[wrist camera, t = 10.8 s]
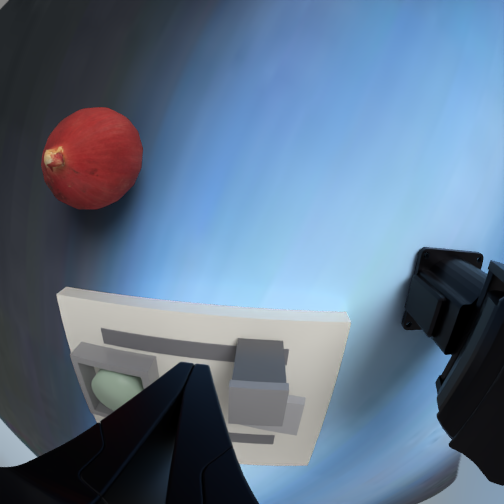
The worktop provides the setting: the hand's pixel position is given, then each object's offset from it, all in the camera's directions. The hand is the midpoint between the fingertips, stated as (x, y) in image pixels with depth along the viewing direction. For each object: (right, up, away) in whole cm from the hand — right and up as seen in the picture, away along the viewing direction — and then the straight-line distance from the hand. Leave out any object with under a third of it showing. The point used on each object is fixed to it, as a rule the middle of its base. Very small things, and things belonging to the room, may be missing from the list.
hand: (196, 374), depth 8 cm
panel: (-3, -9, +15) cm, 18 cm away
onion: (-7, +10, +10) cm, 16 cm away
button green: (-9, -7, +13) cm, 18 cm away
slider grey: (+2, -4, +12) cm, 13 cm away
